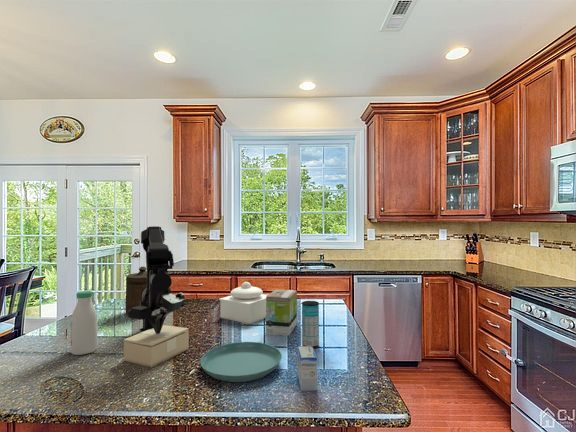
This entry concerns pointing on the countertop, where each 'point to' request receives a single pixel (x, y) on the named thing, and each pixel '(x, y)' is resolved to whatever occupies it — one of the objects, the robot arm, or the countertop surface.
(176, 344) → the cardboard box
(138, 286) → the wooden container
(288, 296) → the tea box
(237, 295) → the white square canister
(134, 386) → the countertop surface
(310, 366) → the medicine box
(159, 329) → the robot arm
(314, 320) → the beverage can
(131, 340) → the lid
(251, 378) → the green plate
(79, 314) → the milk bottle
